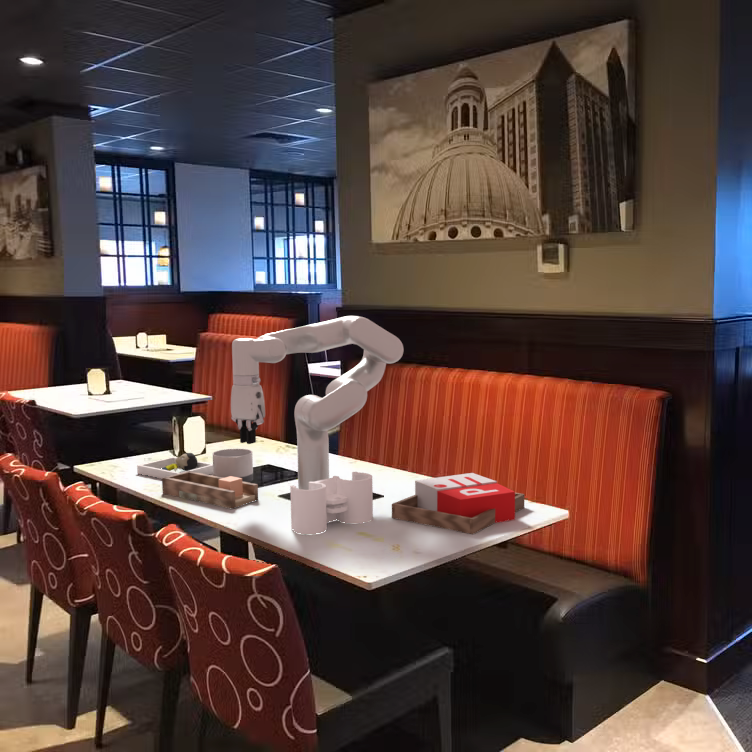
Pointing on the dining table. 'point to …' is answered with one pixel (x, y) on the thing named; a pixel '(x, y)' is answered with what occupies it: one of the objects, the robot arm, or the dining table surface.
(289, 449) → the dining table surface
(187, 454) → the toy
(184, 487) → the long wooden tray
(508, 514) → the red and white box
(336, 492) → the bracket
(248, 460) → the planter
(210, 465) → the toy tray
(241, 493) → the block
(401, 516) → the logo tray
